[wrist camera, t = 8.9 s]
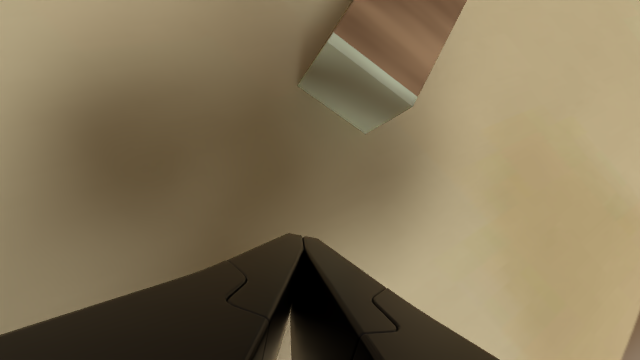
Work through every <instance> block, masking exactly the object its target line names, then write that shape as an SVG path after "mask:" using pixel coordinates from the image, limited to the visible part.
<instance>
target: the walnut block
mask: <svg viewBox="0 0 640 360" xmlns="http://www.w3.org/2000/svg"><path fill="white" fill-rule="evenodd" d="M466 1H467V0H353V1H352V2H351V4H350V5H349V7H348V8H347V10H346V11H345V13H344V15H343V16H342V18H341V19H340V21H339V22H338V24H337V25H336V27H335V28H334V30H333V32H332V33H331V35H330V36H329V38H328V39H327V41H326V42H325V44H324V45H323V47H322V48H321V50H320V52H319V53H318V55H317V56H316V58H315V59H314V61H313V62H312V64H311V65H310V67H309V69H308V70H307V72H306V73H305V75H304V76H303V78H302V79H301V81H300V82H299V84H298V87H300V88H301V89H302V90H304V91H305V92H307V93H308V94H310V95H311V96H312V97H314V98H315V99H317V100H318V101H319V102H321V103H322V104H324V105H325V106H326V107H328V108H329V109H331V110H332V111H333V112H335V113H336V114H338V115H339V116H341V117H342V118H343V119H345V120H346V121H348V122H349V123H350V124H352V125H353V126H355V127H356V128H357V129H359V130H360V131H362V132H363V133H364V134H367V133H368V132H370V131H372V130H374V129H375V128H377V127H379V126H380V125H382V124H384V123H386V122H387V121H389V120H391V119H392V118H394V117H396V116H398V115H399V114H401V113H403V112H404V111H406V110H408V109H410V108H411V107H413V105H414V103H415V101H416V99H417V97H418V95H419V93H420V91H421V89H422V88H423V86H424V84H425V82H426V80H427V78H428V76H429V74H430V72H431V70H432V68H433V66H434V64H435V62H436V60H437V58H438V56H439V54H440V52H441V50H442V48H443V46H444V44H445V42H446V40H447V38H448V36H449V34H450V32H451V30H452V28H453V26H454V25H455V23H456V21H457V19H458V17H459V15H460V13H461V11H462V9H463V7H464V5H465V3H466Z"/></svg>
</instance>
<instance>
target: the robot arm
mask: <svg viewBox="0 0 640 360" xmlns="http://www.w3.org/2000/svg"><path fill="white" fill-rule="evenodd" d="M290 309H291V312H290ZM289 313H290V326H291V359H292V360H499V359H498V358H496V357H495V356H493V355H491V354H490V353H488V352H486V351H485V350H483V349H482V348H480V347H478V346H477V345H475V344H473V343H472V342H470V341H469V340H467V339H465V338H464V337H462V336H460V335H459V334H457V333H456V332H454V331H452V330H451V329H449V328H447V327H446V326H444V325H443V324H441V323H439V322H438V321H436V320H435V319H433V318H431V317H430V316H428V315H427V314H425V313H424V312H422V311H420V310H419V309H417V308H416V307H414V306H413V305H411V304H410V303H408V302H407V301H405V300H404V299H402V298H401V297H399V296H398V295H397V294H395V293H394V292H392V291H391V290H390V289H388V288H387V289H386V287H384V286H383V285H382V284H380V283H379V282H377V281H376V280H375V279H373V278H372V277H370V276H369V275H368V274H366V273H365V272H363V271H362V270H361V269H359V268H358V267H356V266H355V265H354V264H352V263H351V262H350V261H348V260H347V259H345V258H344V257H343V256H341V255H340V254H338V253H337V252H336V251H334V250H333V249H331V248H330V247H329V246H327V245H326V244H324V243H323V242H322V241H320V240H319V239H317V238H312V237H307V236H304V237H303V238H302V236H301V235H296V234H290V233H288V234H285V235H283V236H281V237H278V238H276V239H274V240H272V241H270V242H267V243H265V244H263V245H261V246H258V247H256V248H254V249H252V250H249V251H247V252H245V253H243V254H240V255H238V256H236V257H234V258H231V259H229V260H227V261H223V262H221V263H219V264H217V265H214V266H212V267H209V268H207V269H204V270H202V271H199V272H196V273H193V274H190V275H187V276H184V277H181V278H178V279H175V280H172V281H169V282H166V283H162V284H159V285H156V286H153V287H150V288H147V289H143V290H140V291H137V292H134V293H131V294H128V295H125V296H121V297H118V298H115V299H112V300H109V301H106V302H103V303H99V304H96V305H93V306H90V307H87V308H84V309H80V310H77V311H74V312H71V313H68V314H65V315H62V316H58V317H55V318H52V319H49V320H46V321H43V322H39V323H36V324H33V325H30V326H27V327H24V328H21V329H17V330H14V331H11V332H8V333H5V334H2V335H0V360H276V359H277V356H278V352H279V349H280V345H281V342H282V338H283V335H284V332H285V328H286V325H287V321H288V317H289Z"/></svg>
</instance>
